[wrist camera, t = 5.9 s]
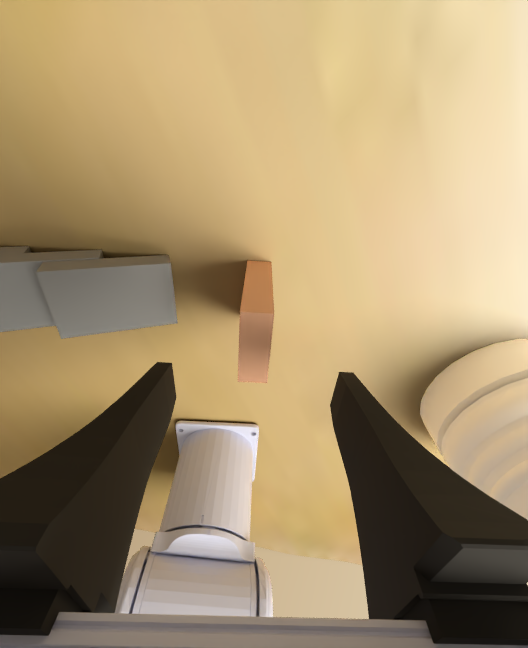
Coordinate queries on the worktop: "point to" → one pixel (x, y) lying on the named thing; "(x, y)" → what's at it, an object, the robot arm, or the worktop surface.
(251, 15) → the worktop surface
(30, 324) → the domino
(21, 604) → the robot arm
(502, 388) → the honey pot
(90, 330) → the domino
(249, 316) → the tile
